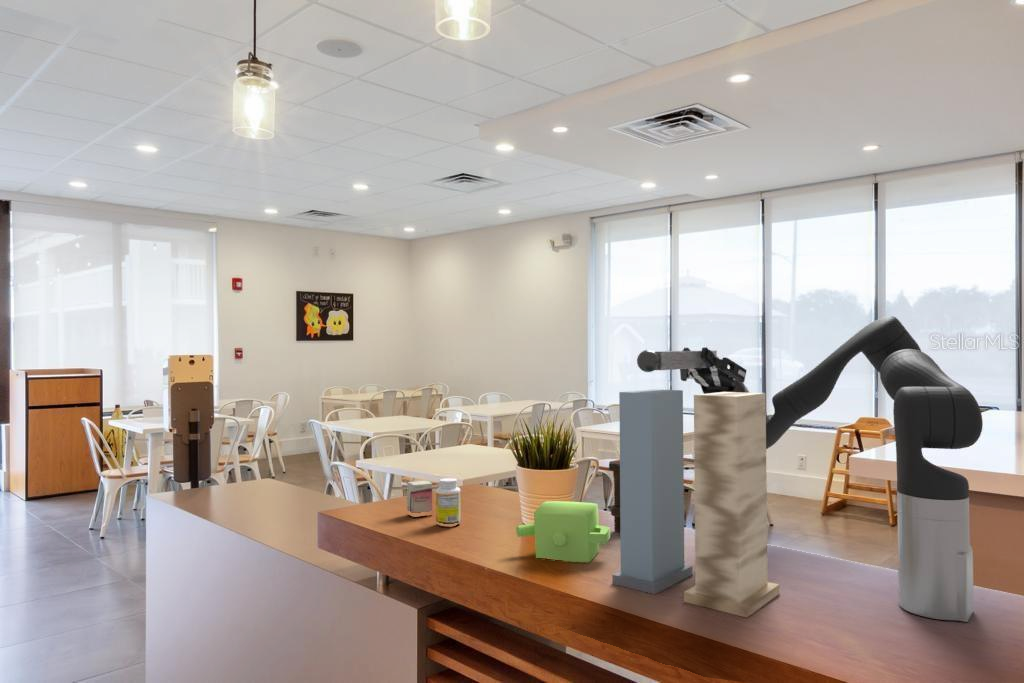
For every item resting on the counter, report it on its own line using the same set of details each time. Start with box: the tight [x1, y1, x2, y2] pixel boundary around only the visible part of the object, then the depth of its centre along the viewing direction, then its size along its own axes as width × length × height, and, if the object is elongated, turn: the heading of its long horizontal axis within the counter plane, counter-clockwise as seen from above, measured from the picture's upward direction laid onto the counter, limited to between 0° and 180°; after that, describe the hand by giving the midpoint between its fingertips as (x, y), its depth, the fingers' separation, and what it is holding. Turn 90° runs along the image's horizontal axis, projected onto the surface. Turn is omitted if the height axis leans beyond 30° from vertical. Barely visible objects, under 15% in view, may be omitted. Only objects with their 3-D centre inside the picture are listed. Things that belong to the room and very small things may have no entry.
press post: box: [611, 388, 693, 595], centre depth 118 cm, size 8×13×32 cm, turn 139°
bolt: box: [608, 459, 620, 533], centre depth 150 cm, size 6×5×15 cm
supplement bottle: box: [435, 477, 462, 524], centre depth 156 cm, size 6×6×10 cm
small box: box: [406, 480, 433, 513], centre depth 165 cm, size 5×4×8 cm
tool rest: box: [683, 392, 780, 618], centre depth 109 cm, size 10×13×32 cm
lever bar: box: [636, 349, 718, 373], centre depth 126 cm, size 4×26×4 cm, turn 139°
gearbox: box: [515, 500, 611, 563], centre depth 132 cm, size 18×10×10 cm, turn 71°
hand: (693, 351), depth 131 cm, fingers closed on lever bar, 3 cm apart
